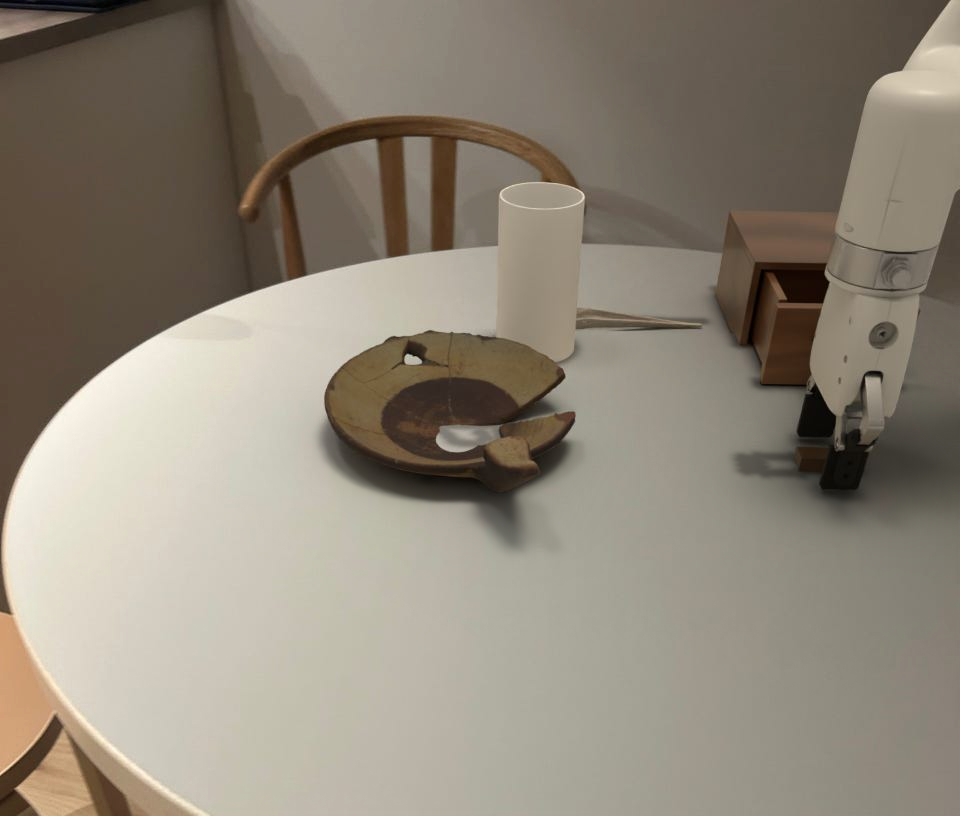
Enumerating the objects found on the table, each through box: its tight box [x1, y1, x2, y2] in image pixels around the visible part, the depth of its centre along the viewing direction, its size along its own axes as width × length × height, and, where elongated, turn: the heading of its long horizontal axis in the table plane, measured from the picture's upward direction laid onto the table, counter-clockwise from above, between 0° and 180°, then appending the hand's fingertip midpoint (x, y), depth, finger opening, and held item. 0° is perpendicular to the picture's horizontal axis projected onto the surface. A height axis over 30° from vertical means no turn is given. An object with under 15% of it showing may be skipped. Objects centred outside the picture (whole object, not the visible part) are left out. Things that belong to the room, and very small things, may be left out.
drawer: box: [749, 269, 921, 386], centre depth 99 cm, size 19×13×8 cm
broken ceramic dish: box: [323, 329, 577, 493], centre depth 87 cm, size 22×30×8 cm
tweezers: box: [575, 306, 703, 330], centre depth 110 cm, size 17×5×2 cm, turn 90°
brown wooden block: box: [793, 446, 829, 473], centre depth 87 cm, size 10×3×2 cm, turn 89°
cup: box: [495, 181, 586, 363], centre depth 100 cm, size 8×8×16 cm
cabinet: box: [715, 210, 839, 347], centre depth 108 cm, size 16×15×10 cm
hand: (825, 460), depth 87 cm, fingers open, 8 cm apart
